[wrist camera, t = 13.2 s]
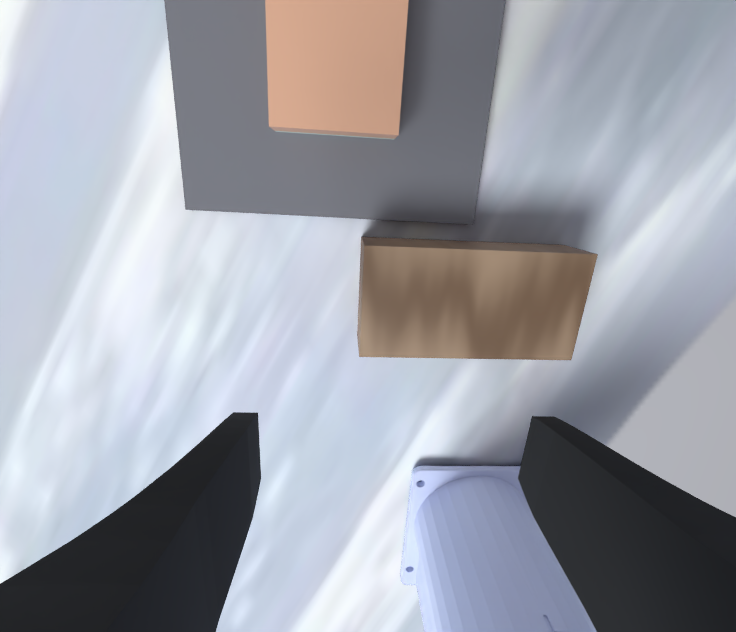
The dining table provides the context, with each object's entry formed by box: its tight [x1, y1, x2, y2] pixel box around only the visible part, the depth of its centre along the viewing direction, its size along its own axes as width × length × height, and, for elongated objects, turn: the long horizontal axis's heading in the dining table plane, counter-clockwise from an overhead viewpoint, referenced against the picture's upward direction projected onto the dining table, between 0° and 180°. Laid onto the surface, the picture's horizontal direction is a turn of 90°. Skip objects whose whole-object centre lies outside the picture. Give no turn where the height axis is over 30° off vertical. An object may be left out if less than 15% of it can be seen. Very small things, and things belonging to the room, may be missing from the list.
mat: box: [164, 0, 505, 224], centre depth 15 cm, size 14×13×1 cm
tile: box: [265, 0, 409, 140], centre depth 14 cm, size 2×5×7 cm
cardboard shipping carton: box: [357, 237, 598, 360], centre depth 18 cm, size 5×3×10 cm
